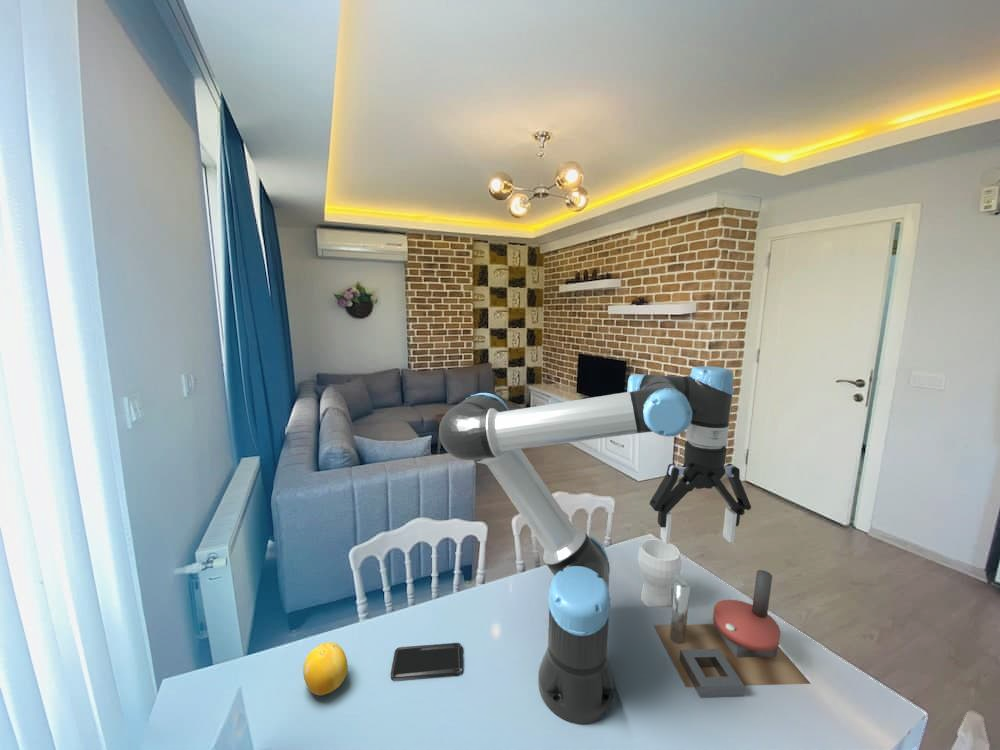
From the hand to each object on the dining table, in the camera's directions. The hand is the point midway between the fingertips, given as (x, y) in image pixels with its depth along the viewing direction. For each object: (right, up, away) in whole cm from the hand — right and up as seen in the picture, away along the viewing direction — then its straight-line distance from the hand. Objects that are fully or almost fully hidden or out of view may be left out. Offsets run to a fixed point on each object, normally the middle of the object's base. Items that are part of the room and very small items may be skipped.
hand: (696, 540), depth 85 cm
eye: (+2, -28, -1) cm, 28 cm away
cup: (0, -26, +23) cm, 34 cm away
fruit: (-77, -29, -2) cm, 82 cm away
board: (+9, -28, +5) cm, 30 cm away
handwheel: (+15, -23, +7) cm, 28 cm away
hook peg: (0, -26, +8) cm, 27 cm away
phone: (-57, -29, +3) cm, 64 cm away
